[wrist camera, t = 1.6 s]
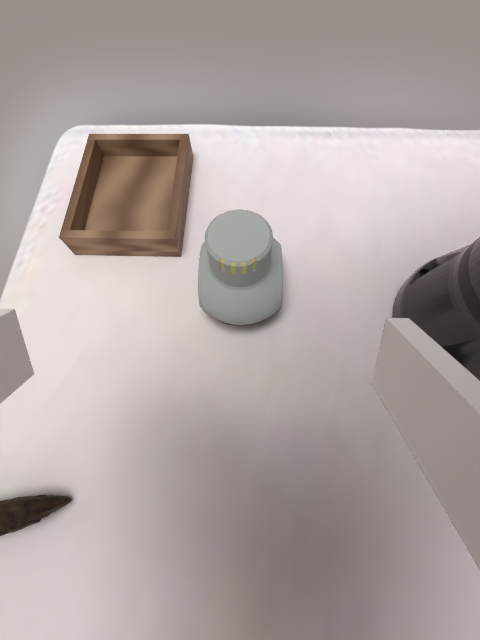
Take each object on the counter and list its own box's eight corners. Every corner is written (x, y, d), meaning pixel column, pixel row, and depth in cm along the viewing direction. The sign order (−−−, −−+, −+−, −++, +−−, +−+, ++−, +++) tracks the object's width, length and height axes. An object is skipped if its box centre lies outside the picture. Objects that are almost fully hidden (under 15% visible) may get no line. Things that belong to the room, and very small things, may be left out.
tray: (193, 157, 44) (188, 133, 40) (180, 256, 38) (174, 239, 35) (101, 156, 44) (89, 133, 41) (75, 254, 38) (58, 237, 35)
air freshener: (208, 247, 38) (194, 185, 29) (276, 247, 38) (285, 184, 29) (203, 332, 34) (185, 292, 25) (279, 333, 34) (289, 292, 25)
